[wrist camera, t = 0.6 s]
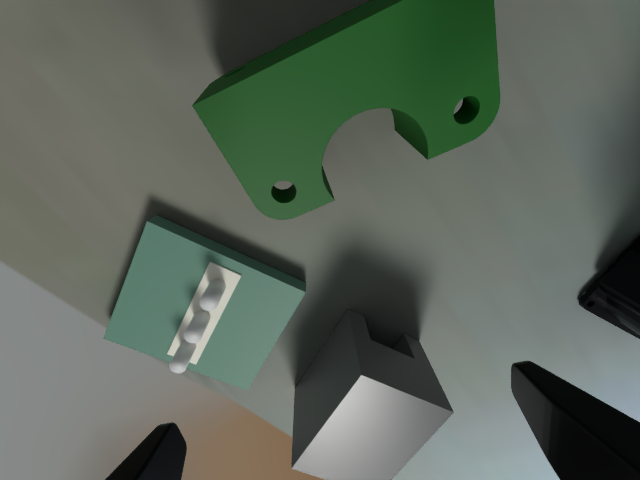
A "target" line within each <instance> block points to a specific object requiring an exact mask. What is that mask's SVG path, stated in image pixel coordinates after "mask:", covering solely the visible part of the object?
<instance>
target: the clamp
mask: <svg viewBox="0 0 640 480" xmlns="http://www.w3.org/2000/svg"><path fill="white" fill-rule="evenodd" d="M461 99H463V103H462V106H461V108H460V109H459V111H458V112H456V113H455V114H453V113H454V109H455V106H456V105H457V103H458V102H459V101H460V100H461ZM499 104H500V88H499V72H498V56H497V41H496V25H495V9H494V0H370V1H368V2H366V3H364V4H362V5H360V6H358V7H356V8H355V9H353V10H351V11H349V12H347V13H345V14H343V15H341V16H339V17H337V18H335V19H333V20H331V21H329V22H327V23H325V24H323V25H321V26H319V27H317V28H315V29H313V30H311V31H309V32H307V33H305V34H303V35H301V36H299V37H297V38H295V39H293V40H291V41H289V42H287V43H285V44H283V45H281V46H279V47H277V48H275V49H274V50H272V51H270V52H268V53H266V54H264V55H262V56H260V57H258V58H256V59H254V60H252V61H250V62H248V63H246V64H244V65H242V66H240V67H238V68H236V69H234V70H232V71H230V72H228V73H227V74H225V75H223V76H221V77H220V78H218V79H216V80H215V81H213V82H212V83H211V84H209V86H208V87H207V88H206V89H205V90H204V92H203V93H202V94H201V95H200V97H199V98H198V99H197V100H196V102H195V103H194V104H193V105H192V106H193V108H194V109H195V111H196V112H197V114H198V116H199V117H200V119H201V120H202V122H203V124H204V125H205V127H206V128H207V130H208V132H209V133H210V135H211V136H212V138H213V140H214V141H215V143H216V144H217V146H218V148H219V149H220V151H221V152H222V154H223V155H224V157H225V159H226V160H227V162H228V163H229V165H230V167H231V168H232V170H233V171H234V173H235V175H236V176H237V178H238V179H239V181H240V183H241V184H242V186H243V187H244V189H245V191H246V192H247V194H248V195H249V197H250V199H251V200H252V202H253V203H254V205H255V206H256V208H257V209H258V210H259V211H260V212H261V213H263V214H264V215H266V216H268V217H270V218H273V219H279V220H285V219H291V218H294V217H297V216H299V215H302V214H304V213H306V212H308V211H311V210H313V209H315V208H318V207H320V206H322V205H325V204H327V203H329V202H331V201H334V200H335V199H334V197H333V194H332V191H331V188H330V186H329V183H328V180H327V177H326V175H325V172H324V169H323V166H322V158H323V154H324V150H325V148H326V145H327V143H328V141H329V140H330V138H331V136H332V135H333V134H334V132H335V131H336V130H337V129H338V128H339V127H340V126H341V125H342V124H343V123H344V122H345V121H346V120H348V119H349V118H351V117H352V116H354V115H356V114H358V113H360V112H363V111H366V110H369V109H374V108H391V110H392V113H393V116H394V123H395V131H397V132H398V133H399V134H400V135H401V136H402V137H403V138H404V139H405V140H406V141H408V142H409V143H410V144H411V145H412V146H413V147H414V148H415V149H416V150H417V151H419V152H420V153H421V154H422V155H423V156H424V157H425V158H426V159H427V160H428V159H431V158H433V157H435V156H438V155H440V154H442V153H444V152H447V151H449V150H451V149H454V148H456V147H458V146H461V145H463V144H465V143H467V142H470V141H472V140H474V139H476V138H477V137H479V136H480V135H481V134H483V133H484V132H485V131H486V130H487V129H488V127H489V126H490V125H491V123H492V122H493V120H494V118H495V116H496V114H497V112H498V109H499ZM282 180H286V181H290V182H291V183H293V185H292V186H291V187H290V188H288V189H284V190H281V189H277V188H276V187H274V186H273V185H274V184H275V183H276V182H278V181H282Z"/></svg>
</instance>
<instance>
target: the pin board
mask: <svg viewBox="0 0 640 480" xmlns="http://www.w3.org/2000/svg"><path fill="white" fill-rule="evenodd" d="M305 293H306V283H305V282H303V281H301V280H298V279H296V278H294V277H292V276H290V275H287V274H285V273H283V272H281V271H279V270H277V269H274V268H272V267H270V266H268V265H266V264H263V263H261V262H259V261H257V260H255V259H252V258H250V257H248V256H246V255H244V254H241V253H239V252H237V251H235V250H233V249H230V248H228V247H226V246H224V245H222V244H219V243H217V242H215V241H213V240H211V239H208V238H206V237H204V236H202V235H200V234H197V233H195V232H193V231H191V230H189V229H186V228H184V227H182V226H180V225H178V224H176V223H173V222H171V221H169V220H167V219H165V218H162V217H160V216H158V215H155V216H154V217H152V218H151V219H149V220H148V221H147V222H146V225H145V228H144V230H143V233H142V236H141V239H140V241H139V244H138V247H137V249H136V252H135V255H134V257H133V260H132V263H131V266H130V268H129V271H128V274H127V276H126V279H125V282H124V284H123V287H122V290H121V293H120V295H119V298H118V301H117V303H116V306H115V309H114V311H113V314H112V317H111V320H110V322H109V325H108V328H107V330H106V333H105V336H104V339H106V340H109V341H112V342H115V343H117V344H120V345H123V346H126V347H128V348H132V349H134V350H137V351H139V352H142V353H145V354H148V355H150V356H153V357H156V358H159V359H162V360H164V361H167V362H170V364H169V368H170V369H171V371H173V372H175V373H182V372H184V371H185V370H186V369H189V370H192V371H195V372H197V373H200V374H203V375H206V376H208V377H211V378H214V379H217V380H219V381H222V382H225V383H228V384H231V385H233V386H236V387H239V388H242V389H244V390H248V388H249V386H250V385H251V383H252V381H253V380H254V378H255V376H256V375H257V373H258V371H259V370H260V368H261V366H262V365H263V363H264V361H265V360H266V358H267V356H268V355H269V353H270V351H271V350H272V348H273V346H274V345H275V343H276V341H277V340H278V338H279V336H280V335H281V333H282V331H283V330H284V328H285V326H286V325H287V323H288V321H289V320H290V318H291V316H292V315H293V313H294V311H295V310H296V308H297V306H298V305H299V303H300V301H301V300H302V298H303V296H304V295H305Z"/></svg>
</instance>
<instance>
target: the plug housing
mask: <svg viewBox="0 0 640 480" xmlns="http://www.w3.org/2000/svg"><path fill="white" fill-rule="evenodd" d="M453 413H454V412H453V410H452V408H451V406H450V404H449V401H448V399H447V397H446V395H445V393H444V391H443V389H442V387H441V385H440V383H439V381H438V379H437V377H436V375H435V373H434V371H433V368H432V366H431V364H430V362H429V360H428V358H427V356H426V354H425V352H424V350H423V348H422V346H421V344H420V342H419V341H418V340H416V339H414V338H411V337H409V336H407V335H405V334H404V335H403V337H402V338H401V339H400V341H399V342H398V343H397V345H396V346H395V347H394V349H391V348H389V347H386V346H384V345H382V344H380V343H377V342H375V341H373V340H370V336H369V332H368V329H367V325H366V322H365V318H364V316H363V315H360V314H358V313H356V312H354V311H351V310H349V309H347V311H346V312H345V314H344V315H343V317H342V318H341V320H340V321H339V323H338V324H337V326H336V327H335V329H334V330H333V332H332V333H331V335H330V336H329V338H328V339H327V341H326V342H325V344H324V345H323V347H322V348H321V350H320V351H319V353H318V354H317V356H316V357H315V359H314V360H313V362H312V363H311V365H310V366H309V368H308V369H307V371H306V372H305V374H304V375H303V377H302V378H301V380H300V381H299V383H298V384H297V386H296V387H295V398H294V421H293V444H292V467H291V468H292V469H294V470H297V471H301V472H304V473H307V474H310V475H313V476H316V477H320V478H323V479H326V480H392V479H393V478H394V477H395V476H396V474H397V473H398V472H399V471H400V470H401V469H402V468H403V467H404V466H405V465H406V464H407V463H408V461H409V460H410V459H411V458H412V457H413V456H414V455H415V454H416V453H417V452H418V451H419V450H420V448H421V447H422V446H423V445H424V444H425V443H426V442H427V441H428V440H429V439H430V438H431V437H432V435H433V434H434V433H435V432H436V431H437V430H438V429H439V428H440V427H441V426H442V425H443V424H444V422H445V421H446V420H447V419H448V418H449V417H450V416H451V415H452V414H453Z"/></svg>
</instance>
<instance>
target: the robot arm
mask: <svg viewBox="0 0 640 480" xmlns="http://www.w3.org/2000/svg"><path fill="white" fill-rule="evenodd" d="M579 305H580V306H581V307H583V308H584V309H586V310H588V311H589V312H591V313H593V314H595V315H597V316H598V317H600V318H602V319H604V320H606V321H608V322H609V323H611V324H613V325H615V326H617V327H619V328H620V329H622V330H624V331H626V332H628V333H630V334H631V335H633V336H635V337H637V338H639V339H640V236H639V237H638V238H637V239H636V240H635V241H634V242H633V243H632V245H631V246H630V247H629V248H628V249H627V250H626V251H625V252H624V253H623V254H622V255H621V256H620V257H619V258H618V259H617V260H616V261H615V262H614V263H613V265H612V266H611V267H610V268H609V269H608V270H607V271H606V272H605V273H604V274H603V275H602V276H601V277H600V278H599V279H598V280H597V281H596V282H595V283H594V285H593V286H592V287H591V288H590V289H589V290H588V291H587V292H586V293H585V294H584V295H583V296H582V297H581V298H580V300H579ZM511 389H512V393H513V395H514V397H515V399H516V401H517V403H518V405H519V407H520V409H521V411H522V413H523V415H524V416H525V418H526V420H527V422H528V424H529V426H530V428H531V430H532V432H533V433H534V435H535V437H536V439H537V441H538V443H539V445H540V447H541V449H542V451H543V452H544V454H545V456H546V458H547V460H548V461H549V463H550V464H551V466H552V468H553V469H554V471H555V472H556V474H557V476H558V477H559V479H560V480H640V422H638V421H636V420H634V419H633V418H631V417H629V416H627V415H626V414H624V413H622V412H620V411H618V410H617V409H615V408H613V407H611V406H610V405H608V404H606V403H604V402H602V401H601V400H599V399H597V398H595V397H594V396H592V395H590V394H588V393H586V392H585V391H583V390H581V389H579V388H577V387H576V386H574V385H572V384H570V383H569V382H567V381H565V380H563V379H561V378H560V377H558V376H556V375H554V374H553V373H551V372H549V371H547V370H545V369H544V368H542V367H540V366H538V365H537V364H535V363H533V362H530V361H523V362H517V363H514V364H512V367H511ZM186 449H187V448H186V442H185V440H184V438H183V436H182V434H181V433H180V430H179V428H178V427H177V425H176V424H175V423H167V424H161V425H159V426H157V427H156V428H155V429H154V430H153V431H152V432H151V433H150V434H149V435H148V436H147V437H146V438H145V439H144V440H143V441H142V442H141V443H140V444H139V445H138V446H137V448H136V449H135V450H134V451H133V452H132V453H131V454H130V455H129V456H128V457H127V458H126V459H125V460H124V461H123V462H122V463H121V464H120V465H119V466H118V467H117V468H116V469H115V470H114V471H113V472H112V473H111V474H110V475H109V476H108V477H107V478H106V480H181V477H182V472H183V467H184V461H185V456H186Z"/></svg>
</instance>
